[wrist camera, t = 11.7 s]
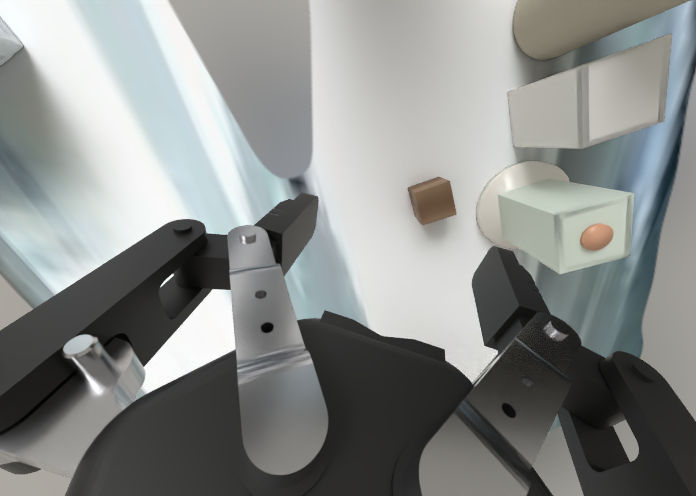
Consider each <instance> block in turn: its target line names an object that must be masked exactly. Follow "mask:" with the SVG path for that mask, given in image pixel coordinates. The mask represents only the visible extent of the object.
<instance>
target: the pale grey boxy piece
mask: <svg viewBox="0 0 696 496" xmlns="http://www.w3.org/2000/svg"><path fill="white" fill-rule="evenodd" d="M498 201H499V209H500V217H501V225H502V233H503V238H504V239H505V240H507V241H508V242H510V243H512V244H513V245H515V246H516V247H518V248H519V249H521V250H523V251H524V252H526V253H527V254H529V255H530V256H532V257H534V258H535V259H537V260H538V261H540V262H541V263H543V264H544V265H546V266H548V267H549V268H551V269H552V270H554V271H555V272H557V273H559V274H563V273H567V272H570V271H574V270H578V269H582V268H586V267H590V266H594V265H597V264H601V263H605V262H609V261H613V260H617V259H621V258H624V257H628V256H630V245H631V231H632V217H633V203H634V193H629V192H623V191H618V190H612V189H606V188H601V187H595V186H590V185H584V184H578V183H573V182H567V181H562V180H556V179H551V178H549V179H546V180H542V181H539V182H536V183H533V184H530V185H526V186H523V187H520V188H517V189H514V190H510V191H507V192H504V193H501V194H498Z"/></svg>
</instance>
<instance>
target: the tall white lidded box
mask: <svg viewBox="0 0 696 496" xmlns="http://www.w3.org/2000/svg"><path fill="white" fill-rule="evenodd" d="M671 43H672V33H671V34H668V35H666V36H663V37H660V38H657V39H654V40H651V41H648V42H645V43H643V44H640V45H637V46H634V47H631V48H628V49H625V50H622V51H619V52H617V53H614V54H611V55H608V56H605V57H602V58H599V59H596V60H594V61H591V62H588V63H585V64H582V65H579V66H576V67H573V68H571V69H568V70H565V71H562V72H560V73H557V74H554V75H552V76H549V77H546V78H544V79H541V80H538V81H536V82H533V83H530V84H528V85H525V86H522V87H520V88H517V89H514V90H512V91H509V92H508V101H509V110H510V119H511V129H512V138H513V147H536V148H581V149H583V148H586V147H589V146H592V145H595V144H598V143H601V142H604V141H607V140H610V139H613V138H616V137H619V136H622V135H625V134H628V133H631V132H634V131H637V130H640V129H643V128H646V127H649V126H652V125H655V124H658V123H661V122H664V119H665V108H666V97H667V86H668V75H669V64H670V53H671Z"/></svg>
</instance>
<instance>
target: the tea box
mask: <svg viewBox="0 0 696 496" xmlns="http://www.w3.org/2000/svg"><path fill="white" fill-rule="evenodd" d="M21 48H23V45H22V44H21V42H20V41H19V40H18V39H17V37H16V36H15V35H14V33H13V32H12V31H11V30H10V28H9V27H8V26H7V25H6V23H5V22H4V21H3V20H2V19H1V17H0V65H2V64H4V63H5V62H6V61H8V60H9V59H10V58H11V57H12V56H13V55H14V54H15V53H17V52H18V51H19V50H20V49H21Z"/></svg>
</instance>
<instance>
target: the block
mask: <svg viewBox="0 0 696 496" xmlns="http://www.w3.org/2000/svg"><path fill="white" fill-rule="evenodd" d="M408 191H409V195H410V198H411V202H412V206H413V210H414V214H415V217H416V218H417V219H418V220H419V222H420V223H421V224H422V225H425V224H428V223H431V222H434V221H438V220H441V219H444V218H447V217H450V216H453V215H456V210H455V205H454V200H453V195H452V190H451V185H450V181H448V180H446V179H443V178H440V177H437V178H434V179H431V180H429V181H426V182H423V183H420V184H417V185H414V186H411V187H408Z"/></svg>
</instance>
